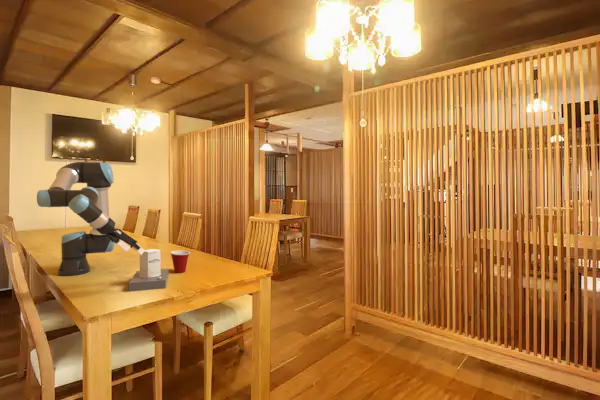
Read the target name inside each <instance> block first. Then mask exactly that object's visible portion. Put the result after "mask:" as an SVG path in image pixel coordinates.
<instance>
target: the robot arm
mask: <svg viewBox="0 0 600 400" xmlns="http://www.w3.org/2000/svg"><path fill="white" fill-rule="evenodd" d="M114 182H115V178H114V171H113V168H112V165H111V164H110V163H108V162H100V161H97V162H96V161H75V162H71V163H68V164H66V165H63V166H62V167H61V168H59V169H58V170H57V172H56V177H55V179H54V180H53V182H51V183H52V184H51V185H50V186H49V188H48V189H40V190H38V191H37V193H36V203H37V206H39V208H40V207H41V208H63V207H65V208H66V207H67V208H69V209H70V210H71V211H72V212H73V213H74V214H76V215H77V216H78V217H80V218H81V219H83V220H84V221H85V222H86V223H88V225H89V227H90V228H91V229H90V230H89V233H87V231H85V230H84V231H74V232H71V233H69V232H68V233H66V234H63V235H62V236H61V242H60V244H61V261H60V265H59V268H58V270H57V275H58V274H59V275H58V276H61V275H62V277H66V276H67V277H69V276H79V275H82V274H87V273H89V272H91V266H90V263H89V261H88V259H87V255H88V254H103V253H111V252H113V251H114V248H115V244H116V245H117V246H118V247H119V248H121V249H122V250H124V252H128V251H129V250H130V249H133V250H134V251H135V252H136V253H138V254H139V256H140V255H142V254H143V253H144V251H145V250H146V249H144V248H143V247H142V246H140V245H139V244H138V241H137V240H136V239H134V238H133V237H131V236H130V235H129V234H127V233H125V232H124V231H123V230H122V229H120V228H117V227H116V222H115V220H113V219H112V218H111V217H110V206H109V205H110V203H109V189H110V188H111V187H112V184H114ZM75 184H86V186H85V187H82V188H81V189H72V187H73V186H74V185H75ZM115 227H116V228H115Z"/></svg>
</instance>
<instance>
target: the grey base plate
mask: <svg viewBox="0 0 600 400" xmlns="http://www.w3.org/2000/svg"><path fill="white" fill-rule="evenodd" d="M169 270H170V269H169V268H163V269H161V274H157V275H153V276H149V277H146V276H142V275H140V270H137V271H136V272H135V273H134V274H133V276H132V278H131V279H130V280H129V282H128V292H139V291H150V290H151V291H152V290H160V289H166V288H167V286H168V285H167V284H168V281H169V272H170V271H169Z"/></svg>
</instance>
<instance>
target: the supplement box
mask: <svg viewBox="0 0 600 400" xmlns="http://www.w3.org/2000/svg"><path fill="white" fill-rule="evenodd" d="M144 250H145V251H144V253H143V254H142V255H140V254H139V271H140V275H142V276H146V277H149V276H153V275H157V274H161V267H162V266H161V265H162V264H161V263H162V262H161V256H162V255H161V249H156V248H149V249H144Z"/></svg>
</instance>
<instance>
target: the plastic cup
mask: <svg viewBox="0 0 600 400" xmlns="http://www.w3.org/2000/svg"><path fill="white" fill-rule="evenodd" d="M169 254H170V255H171V259H172V265H173V269H174V273H175V274H183V273H185V272H186V270H187V263H188V261H189V260H188V259H189V255H190V254H191V252H190V251H188V250H172V251H170V253H169Z"/></svg>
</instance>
